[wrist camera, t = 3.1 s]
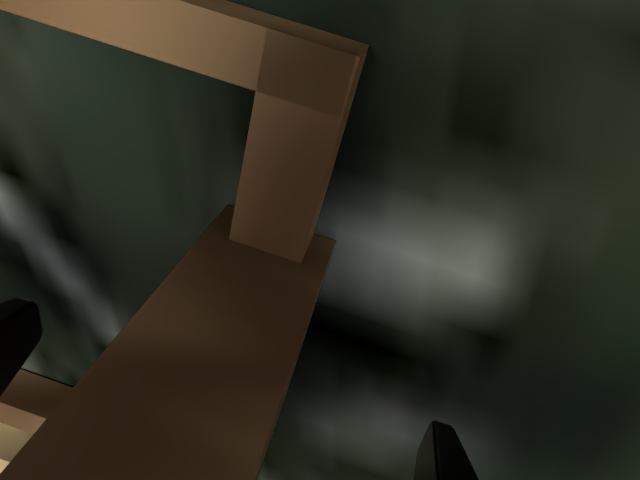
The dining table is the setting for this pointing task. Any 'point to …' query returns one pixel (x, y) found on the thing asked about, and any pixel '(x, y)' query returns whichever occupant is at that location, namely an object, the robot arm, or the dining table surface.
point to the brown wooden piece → (205, 261)
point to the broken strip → (11, 443)
